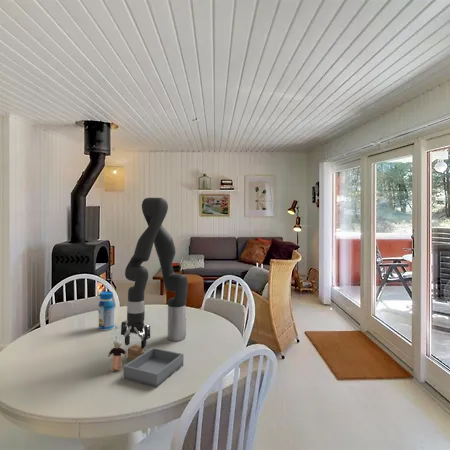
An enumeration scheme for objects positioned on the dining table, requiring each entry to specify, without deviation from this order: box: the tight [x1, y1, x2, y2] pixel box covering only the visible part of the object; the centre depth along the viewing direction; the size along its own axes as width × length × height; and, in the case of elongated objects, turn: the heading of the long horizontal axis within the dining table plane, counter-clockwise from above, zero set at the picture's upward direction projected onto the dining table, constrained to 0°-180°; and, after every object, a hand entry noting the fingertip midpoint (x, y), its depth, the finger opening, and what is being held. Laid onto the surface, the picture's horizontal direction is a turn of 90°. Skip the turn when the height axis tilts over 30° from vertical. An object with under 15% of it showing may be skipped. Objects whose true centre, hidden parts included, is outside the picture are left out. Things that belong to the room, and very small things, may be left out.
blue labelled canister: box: [97, 290, 115, 331], centre depth 186 cm, size 8×8×20 cm
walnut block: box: [127, 344, 145, 361], centre depth 151 cm, size 5×5×5 cm
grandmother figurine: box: [107, 338, 128, 372], centre depth 139 cm, size 8×4×13 cm, turn 105°
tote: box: [123, 347, 184, 388], centre depth 138 cm, size 20×16×5 cm
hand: (135, 346), depth 150 cm, fingers open, 8 cm apart
